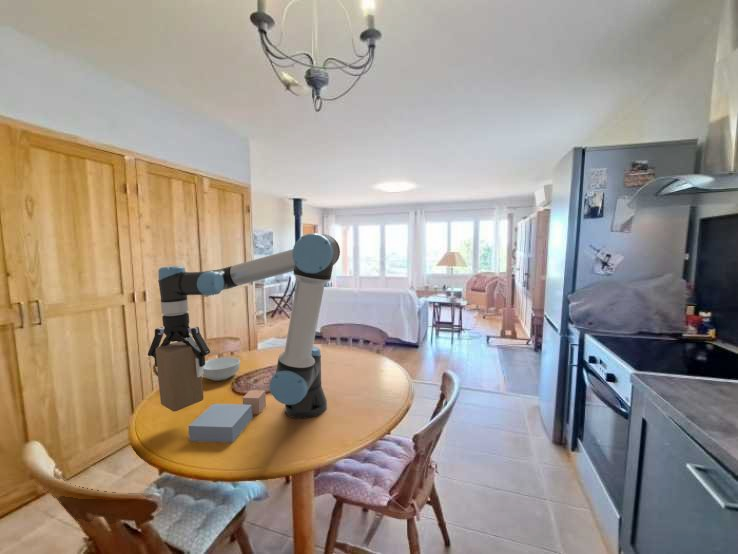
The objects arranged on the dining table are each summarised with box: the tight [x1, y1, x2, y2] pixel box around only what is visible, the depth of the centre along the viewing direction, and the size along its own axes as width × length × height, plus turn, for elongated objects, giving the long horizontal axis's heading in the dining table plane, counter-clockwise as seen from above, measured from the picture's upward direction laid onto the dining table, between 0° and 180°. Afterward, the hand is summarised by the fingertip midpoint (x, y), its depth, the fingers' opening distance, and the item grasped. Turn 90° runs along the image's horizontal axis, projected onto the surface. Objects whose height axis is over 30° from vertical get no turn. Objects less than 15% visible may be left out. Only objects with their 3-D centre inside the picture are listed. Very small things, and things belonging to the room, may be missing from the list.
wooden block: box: [155, 341, 204, 413], centre depth 107 cm, size 10×10×20 cm
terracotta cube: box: [242, 389, 267, 415], centre depth 119 cm, size 6×6×6 cm
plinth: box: [188, 403, 254, 444], centre depth 106 cm, size 14×14×5 cm
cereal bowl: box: [202, 356, 241, 382], centre depth 149 cm, size 17×17×7 cm
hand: (181, 375), depth 108 cm, fingers closed on wooden block, 13 cm apart
